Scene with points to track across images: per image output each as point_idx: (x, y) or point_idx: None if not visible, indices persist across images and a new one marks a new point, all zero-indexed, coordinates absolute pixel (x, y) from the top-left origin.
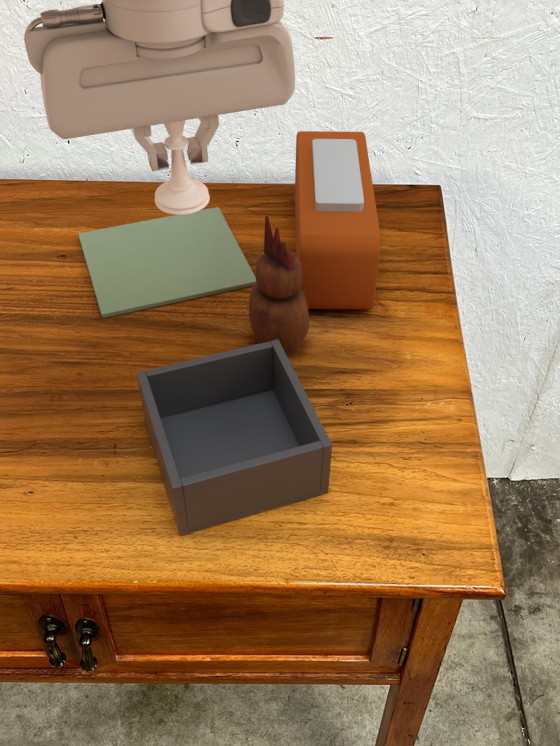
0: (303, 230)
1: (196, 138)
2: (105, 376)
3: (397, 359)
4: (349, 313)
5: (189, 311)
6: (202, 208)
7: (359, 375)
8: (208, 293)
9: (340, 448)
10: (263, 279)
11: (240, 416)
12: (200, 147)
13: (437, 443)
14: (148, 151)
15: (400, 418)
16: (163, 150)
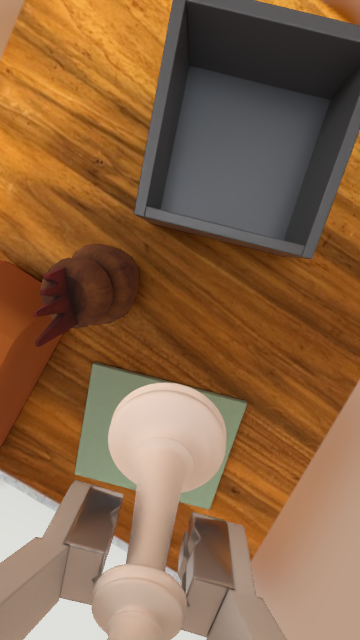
0: (6, 345)
1: (59, 587)
2: (283, 331)
3: (22, 189)
4: (33, 276)
5: (170, 365)
6: (147, 385)
7: (69, 192)
8: (143, 375)
9: (139, 109)
10: (103, 286)
11: (206, 201)
12: (70, 539)
13: (47, 54)
14: (267, 617)
15: (63, 111)
16: (200, 591)
